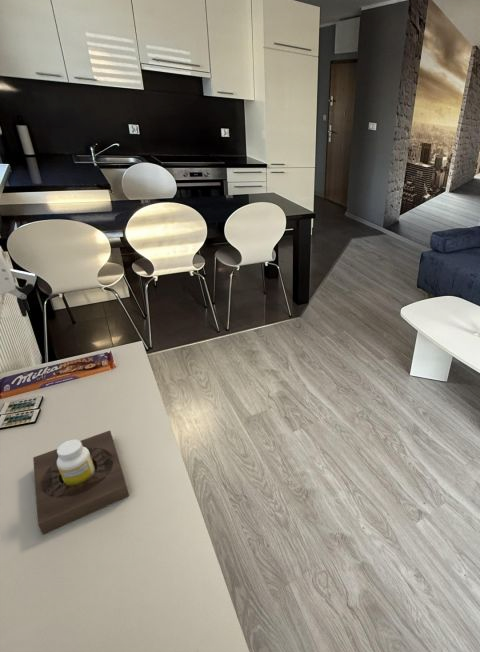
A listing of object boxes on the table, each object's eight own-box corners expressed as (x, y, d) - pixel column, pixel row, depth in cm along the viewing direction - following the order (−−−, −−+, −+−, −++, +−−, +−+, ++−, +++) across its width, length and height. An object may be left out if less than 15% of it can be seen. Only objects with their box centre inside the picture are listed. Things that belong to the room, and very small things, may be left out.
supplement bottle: (74, 470, 84) (62, 436, 79) (101, 470, 84) (91, 436, 80) (59, 493, 79) (46, 458, 74) (89, 492, 80) (77, 457, 75)
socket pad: (37, 467, 84) (33, 457, 82) (112, 439, 92) (110, 430, 90) (42, 534, 71) (37, 524, 70) (129, 496, 80) (126, 485, 78)
